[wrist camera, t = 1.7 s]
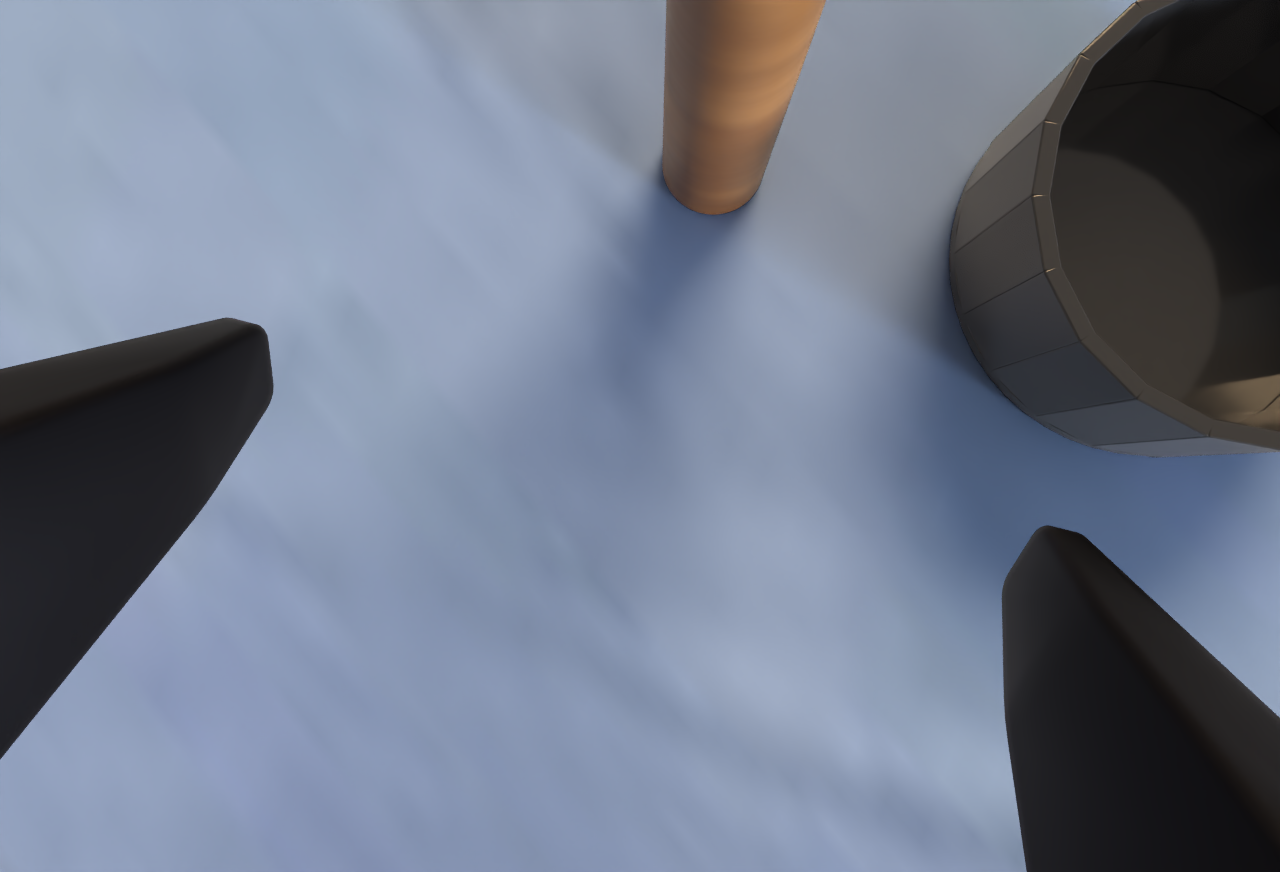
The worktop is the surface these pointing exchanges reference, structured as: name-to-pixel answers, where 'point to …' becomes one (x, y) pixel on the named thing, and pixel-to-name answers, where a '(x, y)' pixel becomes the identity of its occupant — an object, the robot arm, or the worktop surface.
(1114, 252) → the bowl
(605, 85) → the worktop surface
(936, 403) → the worktop surface
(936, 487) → the worktop surface
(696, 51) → the stick
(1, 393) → the robot arm
